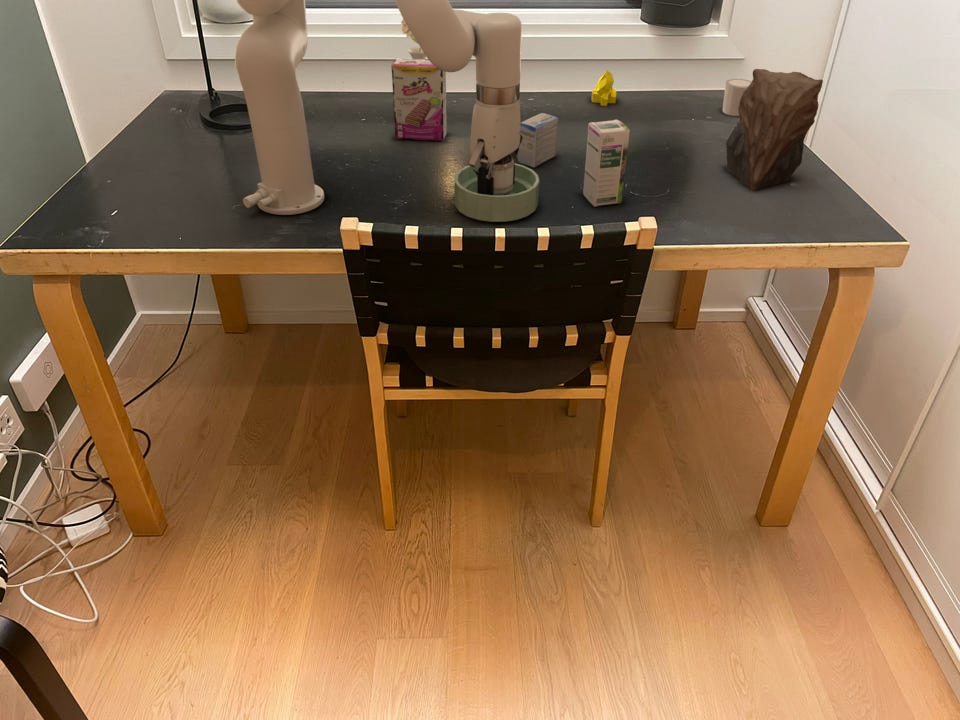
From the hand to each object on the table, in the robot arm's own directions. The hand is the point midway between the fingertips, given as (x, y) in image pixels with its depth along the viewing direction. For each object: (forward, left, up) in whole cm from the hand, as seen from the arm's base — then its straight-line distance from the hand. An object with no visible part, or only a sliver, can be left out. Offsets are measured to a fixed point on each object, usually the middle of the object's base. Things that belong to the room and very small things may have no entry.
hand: (496, 188), depth 139 cm
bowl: (0, 0, -3) cm, 3 cm away
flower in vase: (+33, +44, -4) cm, 55 cm away
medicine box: (+23, +5, -4) cm, 24 cm away
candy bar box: (+19, +33, -4) cm, 38 cm away
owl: (+41, -36, -4) cm, 55 cm away
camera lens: (0, 0, -2) cm, 2 cm away
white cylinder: (+76, -19, -4) cm, 78 cm away
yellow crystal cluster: (+65, +11, -4) cm, 66 cm away
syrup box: (+14, -15, -4) cm, 21 cm away
